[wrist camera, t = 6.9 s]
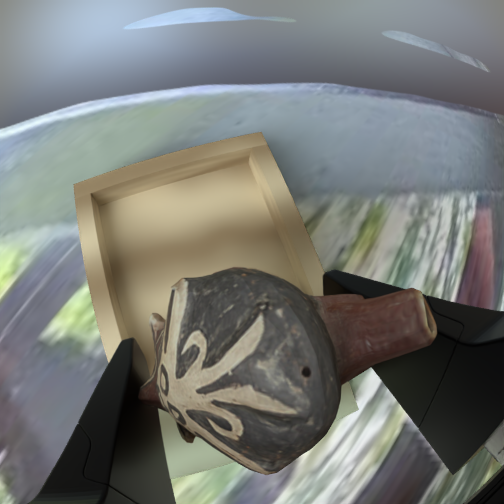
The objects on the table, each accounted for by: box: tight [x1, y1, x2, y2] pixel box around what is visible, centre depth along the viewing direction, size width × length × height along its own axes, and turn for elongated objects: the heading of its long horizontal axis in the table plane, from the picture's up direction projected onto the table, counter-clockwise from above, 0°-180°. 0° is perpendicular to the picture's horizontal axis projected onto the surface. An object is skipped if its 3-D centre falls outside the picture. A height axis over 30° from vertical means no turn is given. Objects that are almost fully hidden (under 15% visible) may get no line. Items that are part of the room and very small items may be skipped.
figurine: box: [138, 267, 437, 475], centre depth 10 cm, size 7×7×12 cm
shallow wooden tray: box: [74, 132, 359, 479], centre depth 20 cm, size 21×14×4 cm
